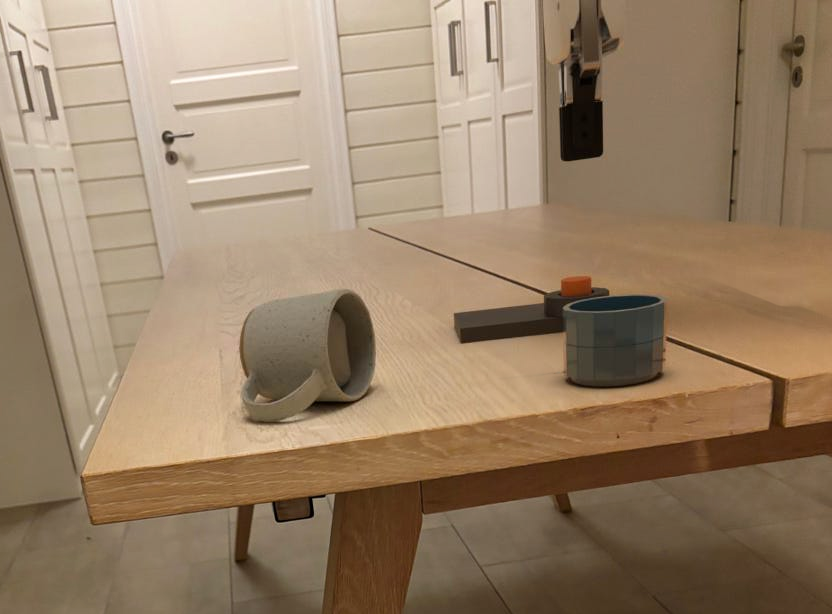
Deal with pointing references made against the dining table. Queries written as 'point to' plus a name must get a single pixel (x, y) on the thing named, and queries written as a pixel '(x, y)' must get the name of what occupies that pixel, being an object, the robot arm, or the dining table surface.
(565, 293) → the button
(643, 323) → the bowl
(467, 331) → the dark piece
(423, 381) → the dining table surface
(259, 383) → the ceramic mug
